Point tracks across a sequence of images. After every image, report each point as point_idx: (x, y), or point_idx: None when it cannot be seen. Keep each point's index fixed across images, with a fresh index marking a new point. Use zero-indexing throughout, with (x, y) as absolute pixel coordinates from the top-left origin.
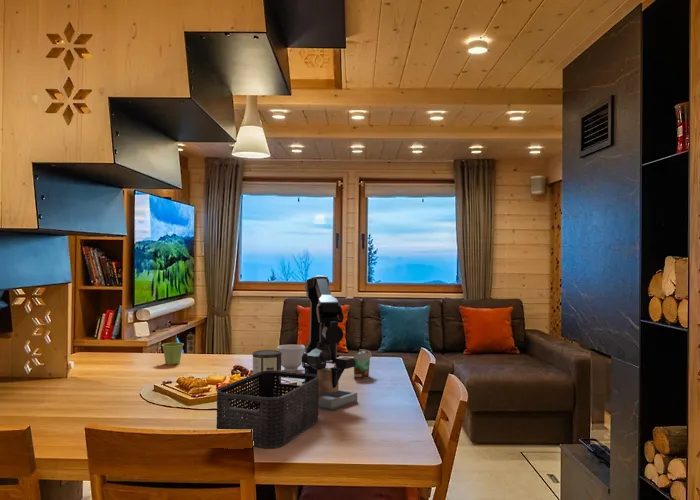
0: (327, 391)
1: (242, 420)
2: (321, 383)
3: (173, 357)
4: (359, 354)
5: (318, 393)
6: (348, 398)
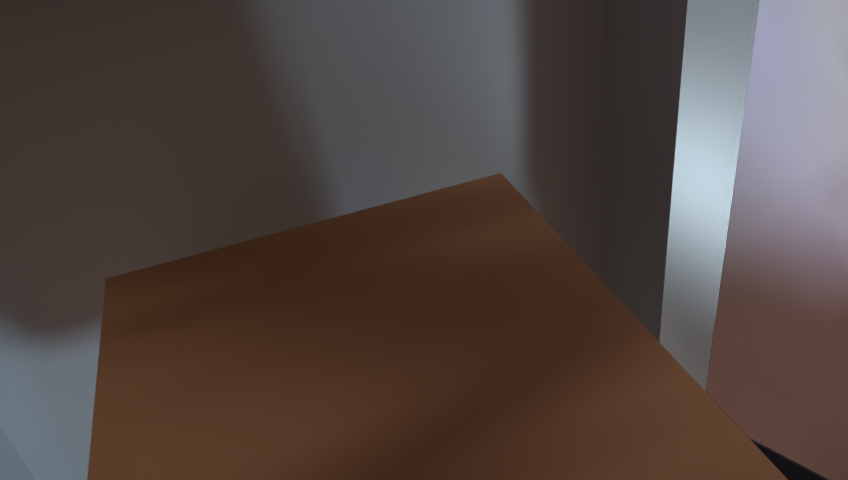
0: (164, 291)
1: None
2: (440, 346)
3: None
4: None
5: (622, 293)
6: None
